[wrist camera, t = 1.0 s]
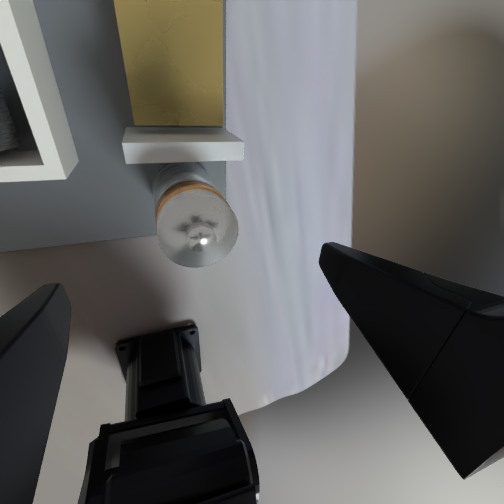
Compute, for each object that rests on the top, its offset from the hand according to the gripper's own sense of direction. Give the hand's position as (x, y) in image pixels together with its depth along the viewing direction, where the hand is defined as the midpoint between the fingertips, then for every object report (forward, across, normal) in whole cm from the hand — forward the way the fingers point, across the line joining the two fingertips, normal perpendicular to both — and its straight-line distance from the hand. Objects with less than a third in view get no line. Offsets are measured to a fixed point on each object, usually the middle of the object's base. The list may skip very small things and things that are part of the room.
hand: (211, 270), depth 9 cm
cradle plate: (+7, 0, -6) cm, 10 cm away
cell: (+8, 0, 0) cm, 9 cm away
